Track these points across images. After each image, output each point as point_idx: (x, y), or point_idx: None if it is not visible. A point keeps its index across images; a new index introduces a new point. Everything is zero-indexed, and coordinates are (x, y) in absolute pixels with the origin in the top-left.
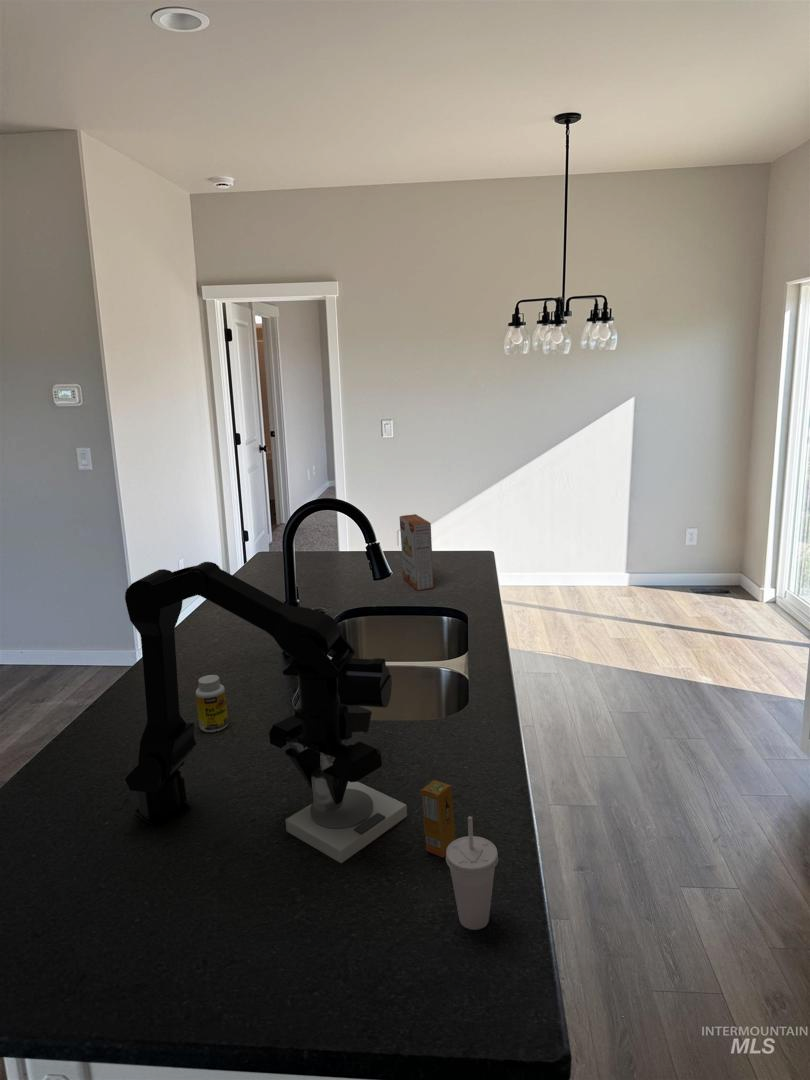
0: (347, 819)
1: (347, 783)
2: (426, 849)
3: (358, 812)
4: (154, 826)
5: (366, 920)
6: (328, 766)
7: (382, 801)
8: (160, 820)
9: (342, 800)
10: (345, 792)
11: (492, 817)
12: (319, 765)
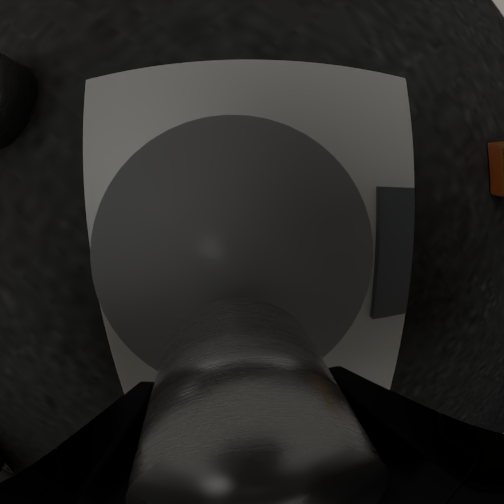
0: (328, 313)
1: (433, 411)
2: (493, 194)
3: (331, 249)
4: (13, 471)
5: (470, 395)
6: (170, 482)
7: (327, 104)
8: (3, 464)
9: (309, 337)
10: (154, 178)
11: (484, 26)
12: (94, 488)
